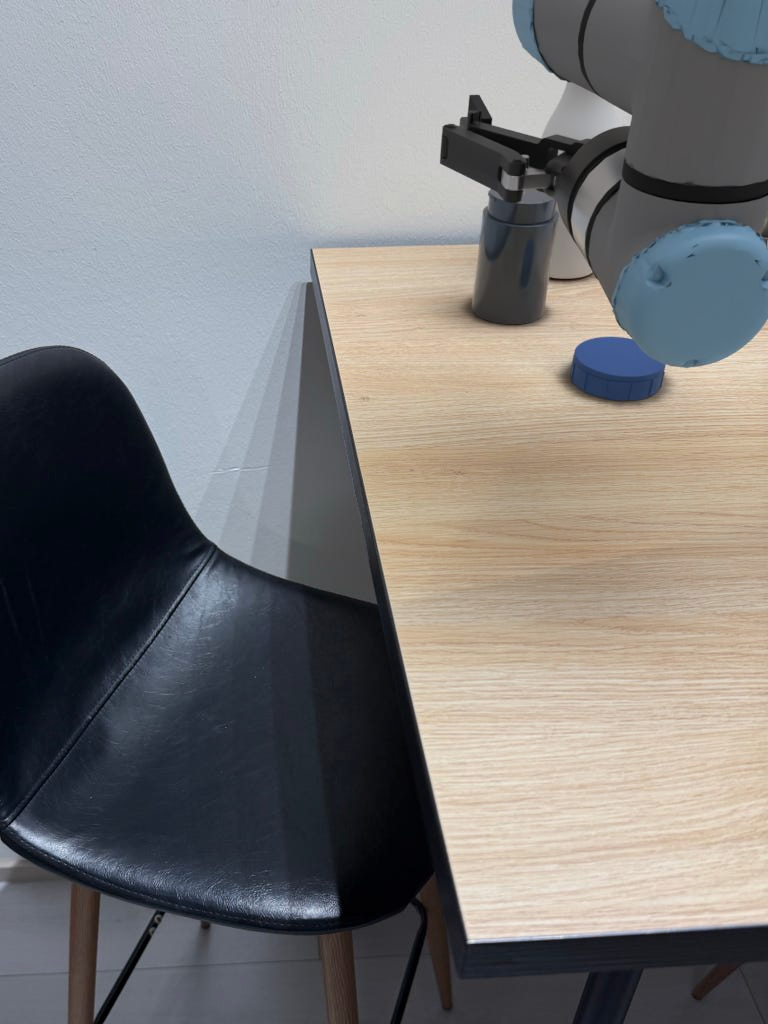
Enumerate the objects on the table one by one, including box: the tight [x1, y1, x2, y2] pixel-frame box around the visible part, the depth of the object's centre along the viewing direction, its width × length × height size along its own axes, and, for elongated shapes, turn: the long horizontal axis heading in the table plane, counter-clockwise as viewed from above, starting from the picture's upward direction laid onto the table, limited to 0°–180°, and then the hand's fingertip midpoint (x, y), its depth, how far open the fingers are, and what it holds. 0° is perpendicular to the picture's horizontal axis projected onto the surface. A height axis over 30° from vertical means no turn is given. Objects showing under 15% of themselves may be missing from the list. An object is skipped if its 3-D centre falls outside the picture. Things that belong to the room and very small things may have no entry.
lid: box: [569, 336, 667, 402], centre depth 87 cm, size 8×8×2 cm
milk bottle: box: [540, 81, 619, 280], centre depth 101 cm, size 8×8×20 cm
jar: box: [471, 188, 559, 325], centre depth 96 cm, size 7×7×11 cm
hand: (560, 112), depth 80 cm, fingers open, 13 cm apart
